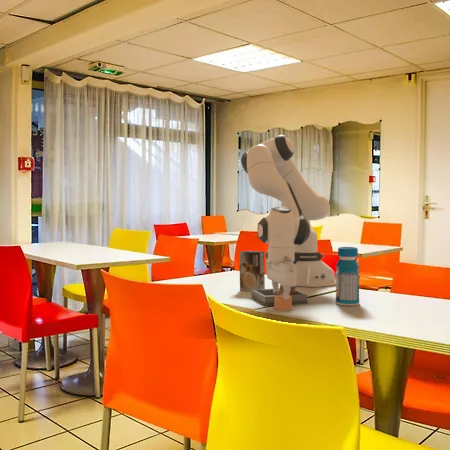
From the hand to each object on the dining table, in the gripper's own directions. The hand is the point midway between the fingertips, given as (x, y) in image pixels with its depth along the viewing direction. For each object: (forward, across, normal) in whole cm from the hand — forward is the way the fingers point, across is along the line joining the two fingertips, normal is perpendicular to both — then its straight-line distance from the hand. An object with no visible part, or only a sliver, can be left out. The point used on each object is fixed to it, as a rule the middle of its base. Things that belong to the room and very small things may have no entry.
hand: (280, 296), depth 182 cm
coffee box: (+4, +38, -1) cm, 38 cm away
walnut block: (+3, +15, -8) cm, 17 cm away
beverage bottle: (+4, +2, -26) cm, 26 cm away
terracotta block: (+4, 0, -1) cm, 4 cm away
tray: (+4, +15, -5) cm, 16 cm away
